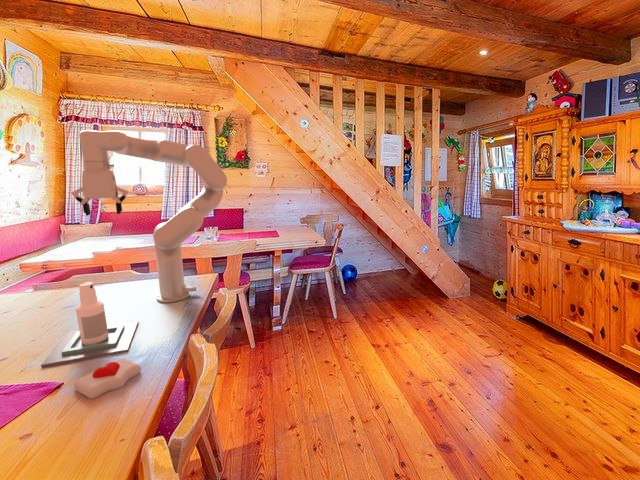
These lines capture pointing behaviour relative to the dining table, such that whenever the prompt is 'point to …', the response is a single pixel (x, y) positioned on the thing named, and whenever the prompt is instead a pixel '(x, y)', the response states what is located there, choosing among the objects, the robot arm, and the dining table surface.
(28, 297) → the dining table surface
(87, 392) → the icon
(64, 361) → the dock
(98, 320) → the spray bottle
